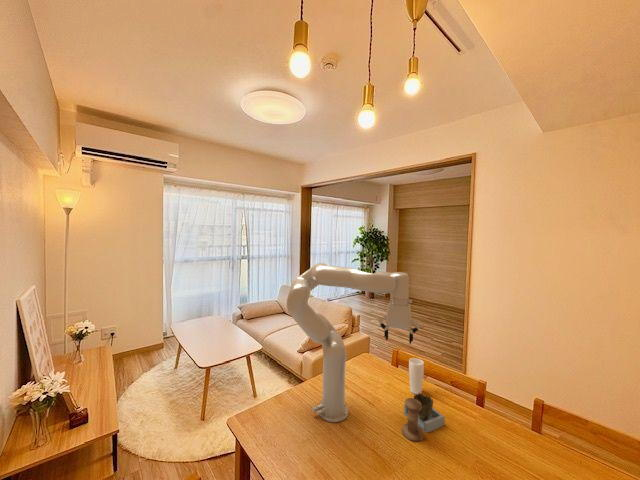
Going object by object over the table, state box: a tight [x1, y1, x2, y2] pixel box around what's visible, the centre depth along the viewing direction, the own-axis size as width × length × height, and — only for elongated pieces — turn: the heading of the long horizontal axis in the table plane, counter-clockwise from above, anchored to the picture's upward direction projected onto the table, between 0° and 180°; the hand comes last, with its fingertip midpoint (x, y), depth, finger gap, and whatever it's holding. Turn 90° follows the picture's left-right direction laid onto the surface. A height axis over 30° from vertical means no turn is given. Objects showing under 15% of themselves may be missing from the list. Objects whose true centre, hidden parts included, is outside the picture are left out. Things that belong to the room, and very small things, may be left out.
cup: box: [413, 393, 434, 420], centre depth 106 cm, size 8×7×8 cm
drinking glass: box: [408, 357, 425, 395], centre depth 124 cm, size 7×7×15 cm
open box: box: [403, 404, 446, 434], centre depth 106 cm, size 10×12×4 cm
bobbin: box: [401, 397, 424, 443], centre depth 98 cm, size 8×8×12 cm
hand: (398, 340), depth 111 cm, fingers open, 9 cm apart
